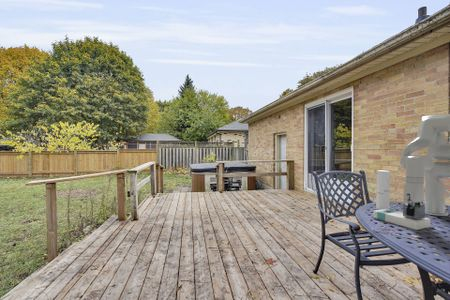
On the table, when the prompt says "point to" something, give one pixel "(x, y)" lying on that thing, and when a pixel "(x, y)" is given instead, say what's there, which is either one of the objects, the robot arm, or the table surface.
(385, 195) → the cylindrical container
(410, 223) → the docking board
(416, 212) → the grey rectangular block
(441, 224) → the table surface
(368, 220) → the table surface
